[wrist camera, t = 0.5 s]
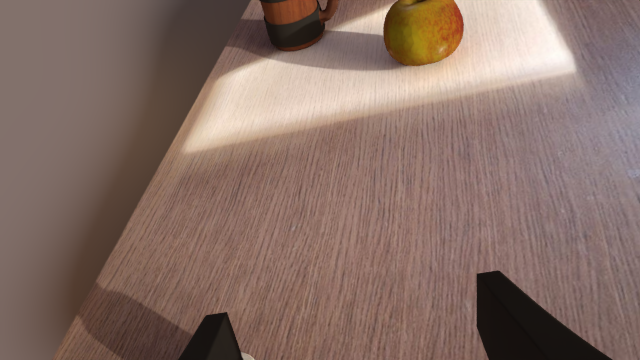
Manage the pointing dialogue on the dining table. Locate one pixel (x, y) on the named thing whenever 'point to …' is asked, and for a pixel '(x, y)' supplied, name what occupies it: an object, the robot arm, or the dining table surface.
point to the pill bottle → (247, 356)
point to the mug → (296, 22)
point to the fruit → (422, 30)
